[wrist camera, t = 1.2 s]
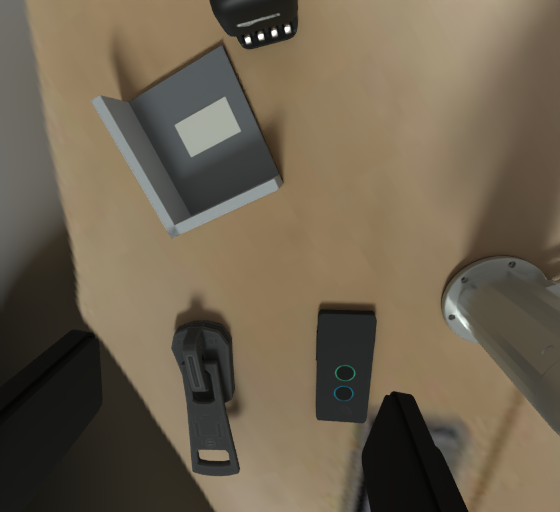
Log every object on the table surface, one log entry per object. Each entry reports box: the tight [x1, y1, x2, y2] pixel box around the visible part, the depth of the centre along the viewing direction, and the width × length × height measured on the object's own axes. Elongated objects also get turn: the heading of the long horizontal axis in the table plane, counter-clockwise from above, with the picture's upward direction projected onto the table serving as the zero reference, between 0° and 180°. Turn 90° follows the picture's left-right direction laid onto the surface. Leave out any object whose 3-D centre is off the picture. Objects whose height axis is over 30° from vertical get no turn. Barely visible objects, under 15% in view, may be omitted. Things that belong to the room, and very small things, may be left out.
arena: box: [91, 45, 283, 238], centre depth 33 cm, size 14×16×6 cm
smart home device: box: [316, 310, 377, 423], centre depth 45 cm, size 8×2×20 cm
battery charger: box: [210, 0, 298, 49], centre depth 26 cm, size 7×4×11 cm, turn 101°
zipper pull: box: [172, 321, 240, 476], centre depth 46 cm, size 9×7×25 cm
